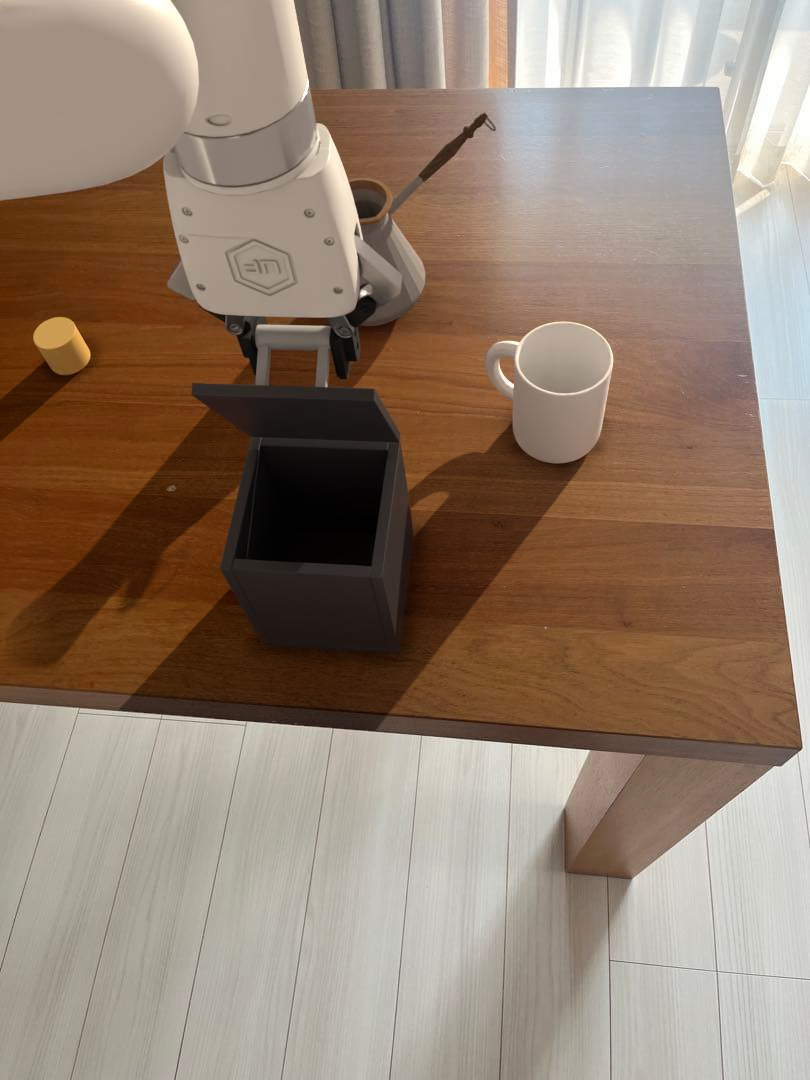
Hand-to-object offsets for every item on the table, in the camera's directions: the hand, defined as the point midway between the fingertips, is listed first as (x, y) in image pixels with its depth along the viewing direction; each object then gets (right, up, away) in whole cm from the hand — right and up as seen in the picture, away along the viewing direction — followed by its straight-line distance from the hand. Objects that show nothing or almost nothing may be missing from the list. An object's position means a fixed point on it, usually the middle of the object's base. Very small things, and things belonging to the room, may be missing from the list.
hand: (304, 360), depth 61 cm
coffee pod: (-29, +7, +33) cm, 44 cm away
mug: (+20, -1, +24) cm, 31 cm away
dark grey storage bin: (+1, -17, +17) cm, 23 cm away
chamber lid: (0, -4, +1) cm, 4 cm away
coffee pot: (+8, +16, +35) cm, 39 cm away
